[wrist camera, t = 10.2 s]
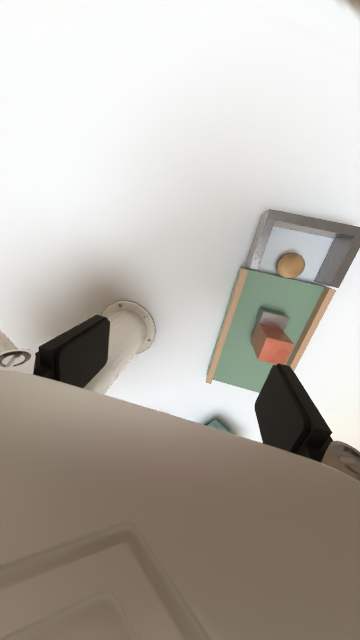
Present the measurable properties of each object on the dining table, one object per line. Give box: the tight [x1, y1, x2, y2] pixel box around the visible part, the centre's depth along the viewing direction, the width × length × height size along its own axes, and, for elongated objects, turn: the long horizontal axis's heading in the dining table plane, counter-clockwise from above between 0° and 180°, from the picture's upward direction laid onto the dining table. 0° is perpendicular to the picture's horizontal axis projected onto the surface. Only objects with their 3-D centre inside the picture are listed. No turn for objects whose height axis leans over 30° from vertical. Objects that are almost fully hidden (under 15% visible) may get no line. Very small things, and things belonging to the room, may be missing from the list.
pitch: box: [206, 267, 336, 393], centre depth 37 cm, size 24×15×3 cm, turn 168°
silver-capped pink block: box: [250, 307, 295, 365], centre depth 32 cm, size 7×4×8 cm, turn 168°
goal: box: [246, 209, 360, 288], centre depth 30 cm, size 8×13×5 cm, turn 78°
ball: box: [277, 253, 305, 278], centre depth 32 cm, size 4×4×4 cm
